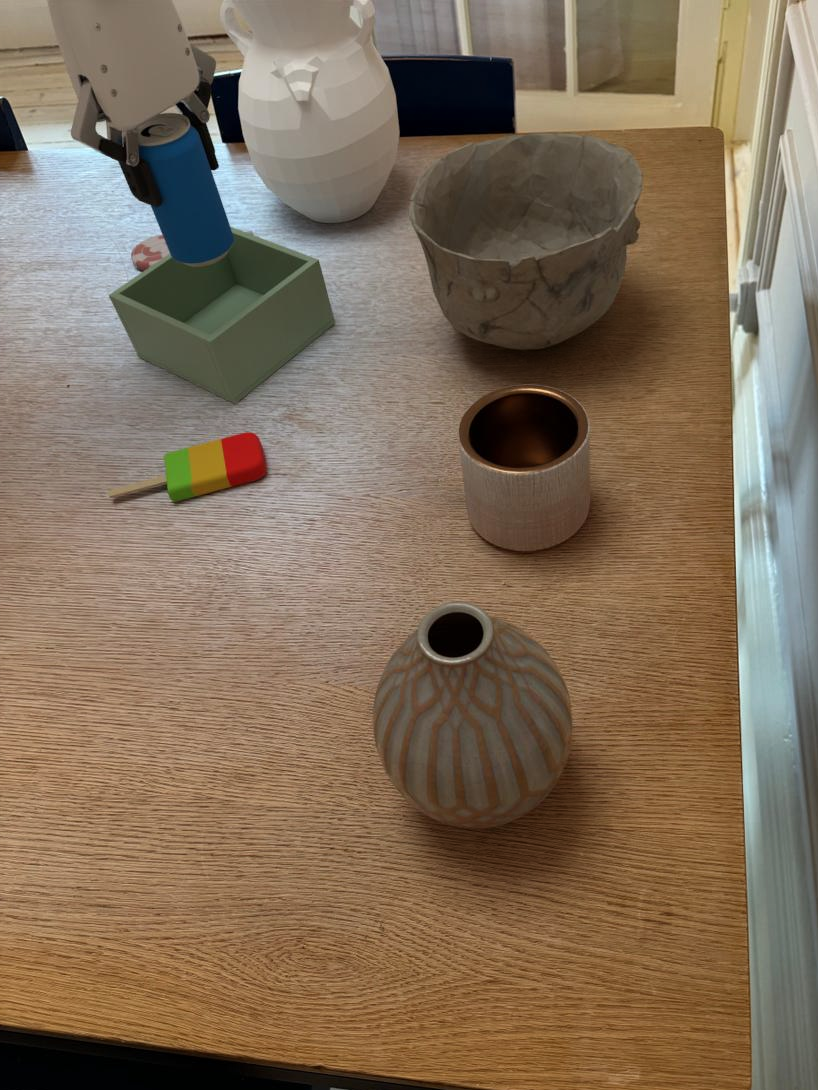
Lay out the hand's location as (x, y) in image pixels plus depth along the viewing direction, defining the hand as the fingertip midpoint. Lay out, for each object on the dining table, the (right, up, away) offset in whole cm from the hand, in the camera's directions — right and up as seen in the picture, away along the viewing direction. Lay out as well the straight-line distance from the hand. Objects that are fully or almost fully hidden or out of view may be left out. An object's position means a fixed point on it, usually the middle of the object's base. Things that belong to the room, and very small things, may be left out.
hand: (178, 182), depth 83 cm
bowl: (+34, -10, +11) cm, 37 cm away
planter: (+33, -32, -4) cm, 46 cm away
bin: (+2, -10, +14) cm, 17 cm away
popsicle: (0, -28, +2) cm, 28 cm away
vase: (+29, -53, -19) cm, 63 cm away
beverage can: (+1, -4, +6) cm, 7 cm away
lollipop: (-7, +5, +26) cm, 27 cm away
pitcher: (+10, +13, +29) cm, 33 cm away
